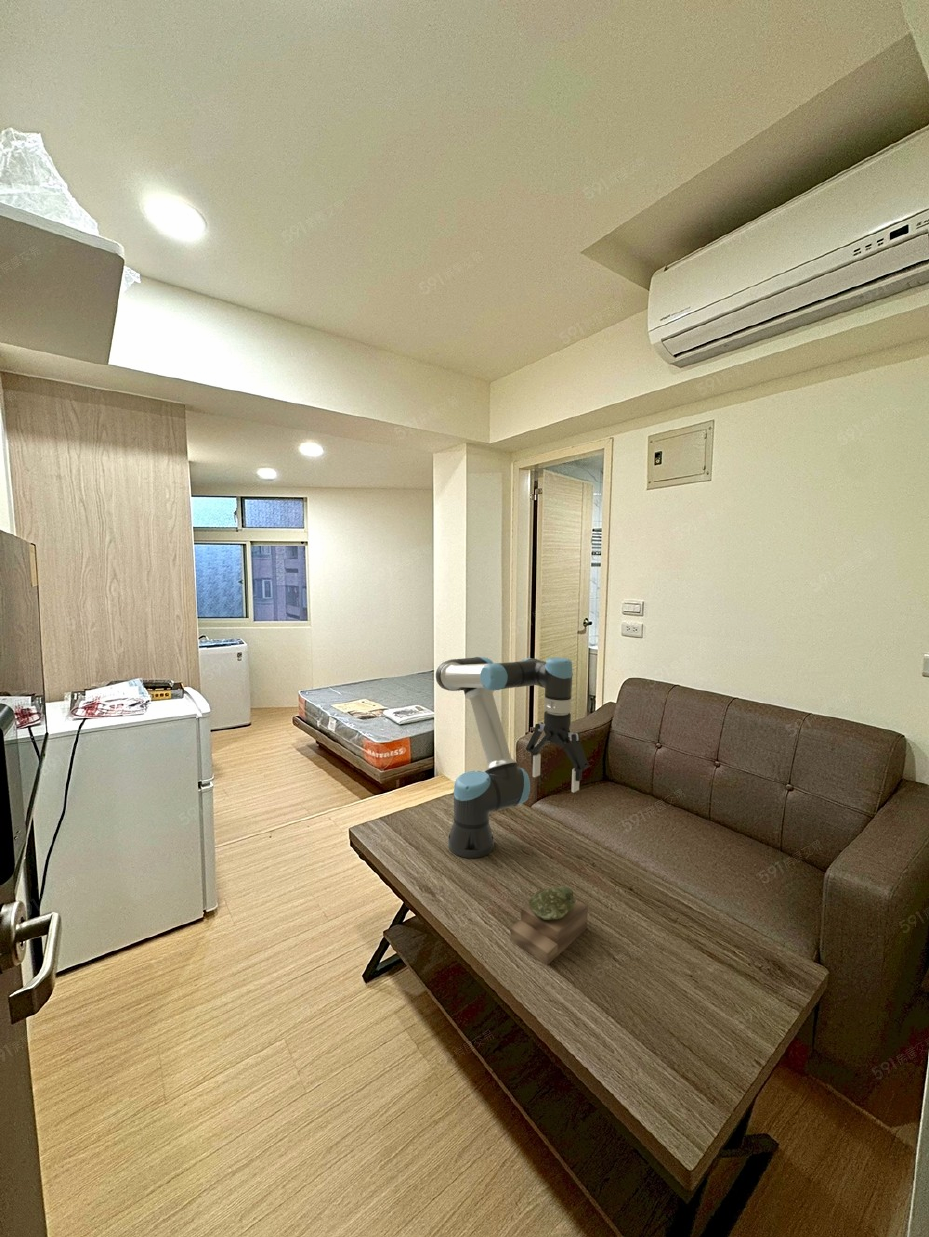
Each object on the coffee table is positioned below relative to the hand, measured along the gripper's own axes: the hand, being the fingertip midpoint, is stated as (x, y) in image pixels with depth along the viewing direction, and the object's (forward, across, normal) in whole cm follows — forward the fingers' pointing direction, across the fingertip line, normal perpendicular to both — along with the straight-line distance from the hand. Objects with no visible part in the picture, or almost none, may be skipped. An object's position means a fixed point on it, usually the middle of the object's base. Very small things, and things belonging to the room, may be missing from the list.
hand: (555, 783), depth 140 cm
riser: (+29, +13, -20) cm, 37 cm away
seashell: (+23, +13, -18) cm, 32 cm away
